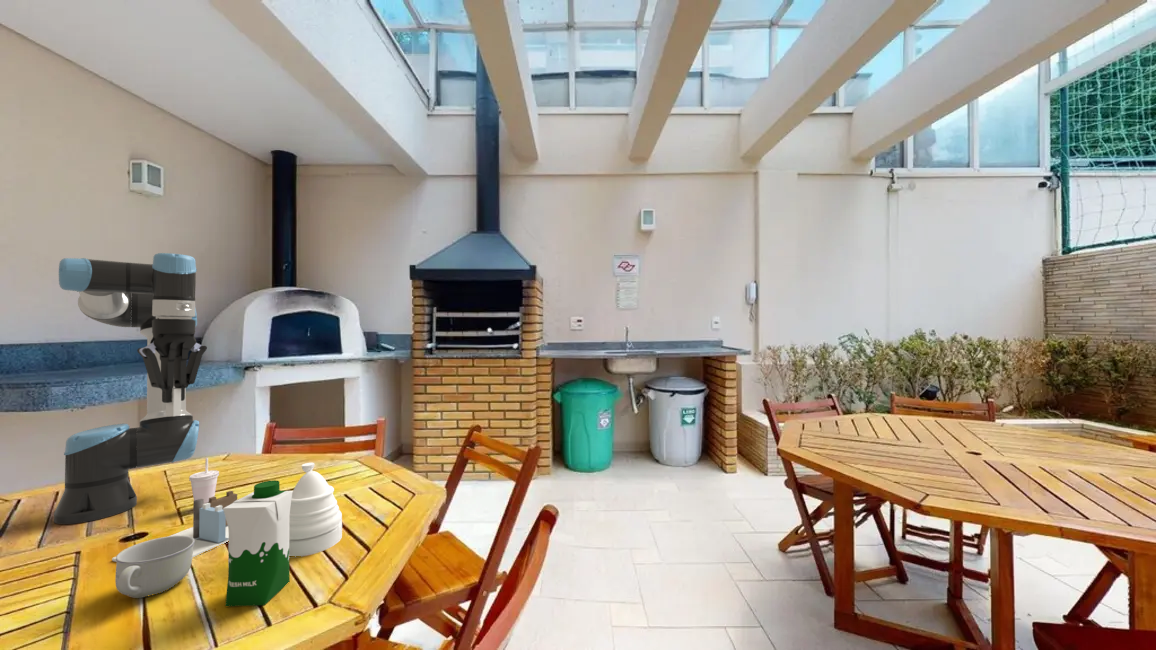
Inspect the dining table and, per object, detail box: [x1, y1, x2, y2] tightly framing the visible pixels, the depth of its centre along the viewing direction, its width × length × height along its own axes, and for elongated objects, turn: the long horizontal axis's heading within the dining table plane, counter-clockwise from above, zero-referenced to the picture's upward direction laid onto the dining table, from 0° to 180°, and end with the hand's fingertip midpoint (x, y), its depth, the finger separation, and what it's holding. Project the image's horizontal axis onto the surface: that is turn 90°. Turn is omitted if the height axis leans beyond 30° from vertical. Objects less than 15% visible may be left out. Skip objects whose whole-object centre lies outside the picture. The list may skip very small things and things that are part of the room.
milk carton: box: [223, 479, 293, 607], centre depth 79 cm, size 9×9×20 cm
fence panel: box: [199, 503, 226, 543], centre depth 99 cm, size 1×7×8 cm, turn 71°
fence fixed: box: [192, 490, 238, 538], centre depth 104 cm, size 2×9×9 cm, turn 163°
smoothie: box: [188, 457, 220, 503], centre depth 119 cm, size 6×6×14 cm
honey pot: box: [289, 462, 343, 558], centre depth 99 cm, size 13×13×18 cm
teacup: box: [114, 535, 195, 599], centre depth 80 cm, size 14×11×8 cm
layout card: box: [111, 525, 229, 563], centre depth 99 cm, size 16×21×1 cm
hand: (173, 415), depth 101 cm, fingers closed
